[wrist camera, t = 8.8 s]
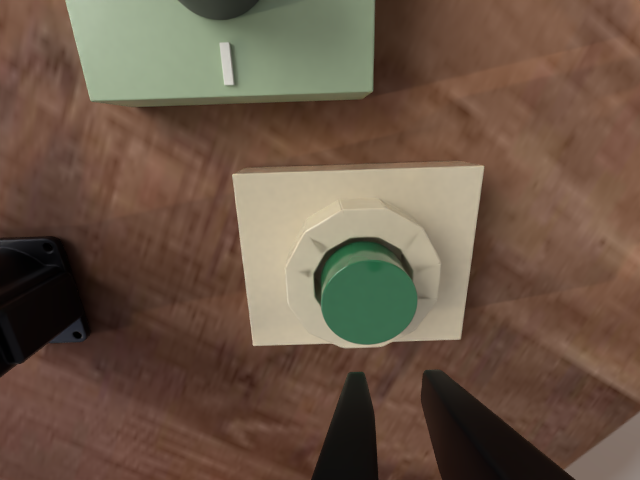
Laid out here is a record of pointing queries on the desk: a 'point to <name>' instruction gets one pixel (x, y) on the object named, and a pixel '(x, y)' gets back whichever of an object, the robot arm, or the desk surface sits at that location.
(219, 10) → the dial
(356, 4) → the console
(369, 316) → the green button cap
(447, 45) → the desk surface
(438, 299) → the button base
